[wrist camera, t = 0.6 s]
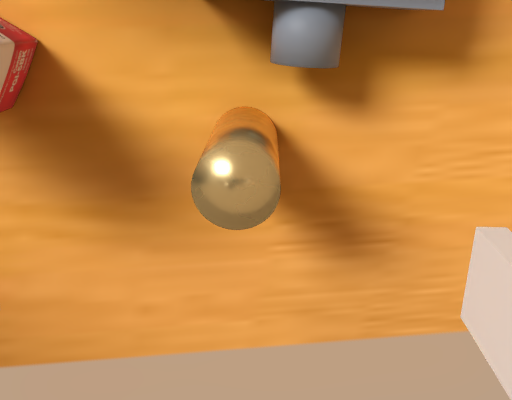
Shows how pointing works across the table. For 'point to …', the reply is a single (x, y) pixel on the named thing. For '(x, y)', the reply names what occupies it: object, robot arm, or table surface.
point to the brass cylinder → (238, 171)
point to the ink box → (13, 61)
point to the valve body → (321, 28)
